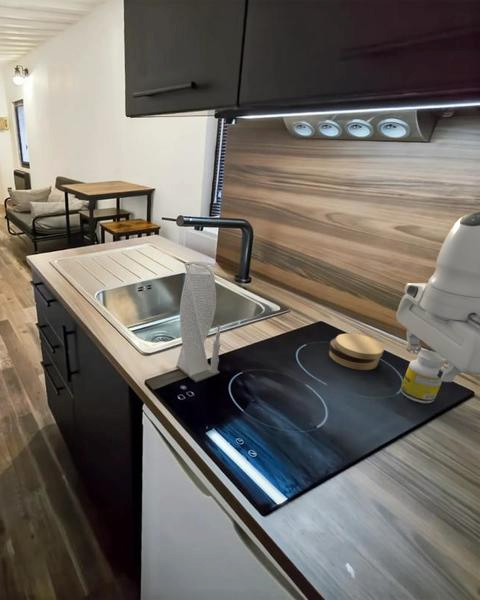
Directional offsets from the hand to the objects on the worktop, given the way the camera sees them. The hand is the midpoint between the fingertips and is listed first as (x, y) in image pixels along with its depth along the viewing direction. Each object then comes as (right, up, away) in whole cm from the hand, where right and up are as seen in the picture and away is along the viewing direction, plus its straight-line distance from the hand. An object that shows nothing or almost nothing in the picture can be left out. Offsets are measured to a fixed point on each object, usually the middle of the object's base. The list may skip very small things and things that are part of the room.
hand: (427, 364), depth 72 cm
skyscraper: (-42, -4, +15) cm, 45 cm away
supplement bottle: (+1, -7, +3) cm, 8 cm away
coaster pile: (-3, -1, +16) cm, 16 cm away
